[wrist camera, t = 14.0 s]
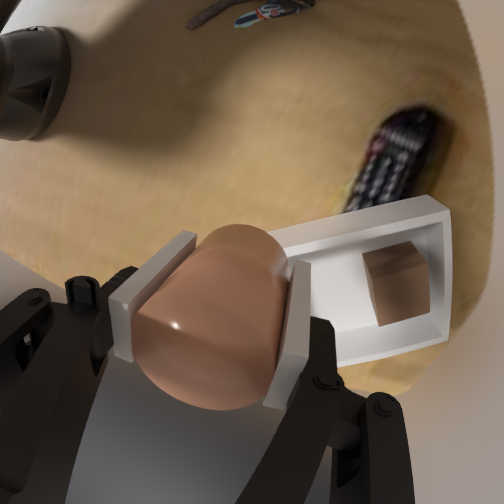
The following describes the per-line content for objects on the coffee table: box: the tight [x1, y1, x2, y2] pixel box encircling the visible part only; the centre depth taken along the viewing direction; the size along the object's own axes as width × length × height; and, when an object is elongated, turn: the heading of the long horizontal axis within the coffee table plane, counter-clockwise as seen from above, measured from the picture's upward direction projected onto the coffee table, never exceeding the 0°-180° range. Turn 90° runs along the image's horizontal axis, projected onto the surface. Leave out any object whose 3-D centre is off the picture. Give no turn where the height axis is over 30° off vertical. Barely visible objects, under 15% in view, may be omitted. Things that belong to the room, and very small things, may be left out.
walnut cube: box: [362, 241, 430, 327], centre depth 25 cm, size 5×5×5 cm
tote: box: [266, 194, 452, 367], centre depth 26 cm, size 14×18×5 cm
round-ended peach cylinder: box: [131, 224, 290, 410], centre depth 12 cm, size 5×5×7 cm
